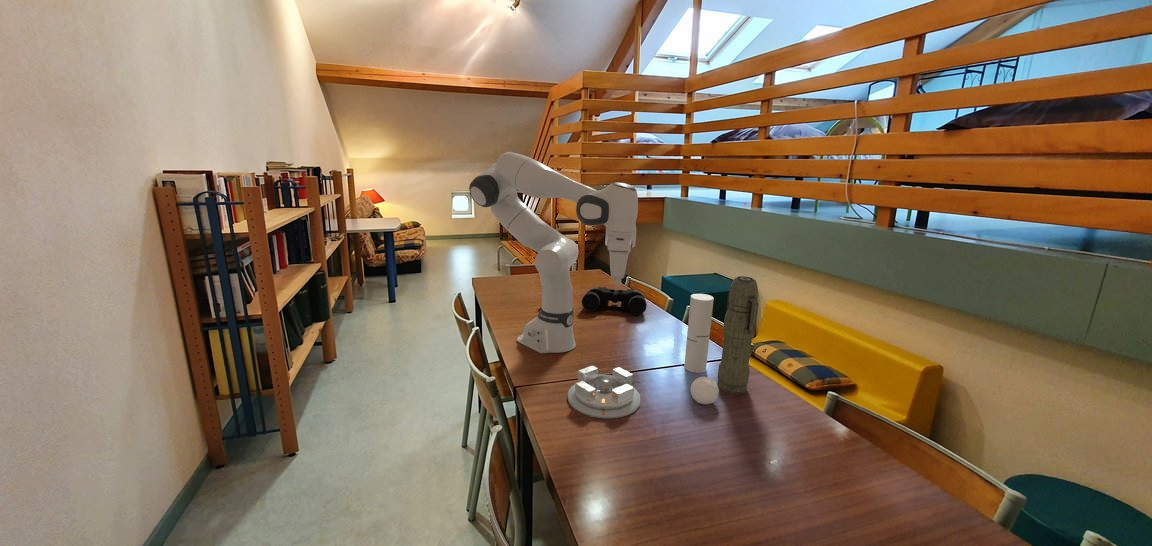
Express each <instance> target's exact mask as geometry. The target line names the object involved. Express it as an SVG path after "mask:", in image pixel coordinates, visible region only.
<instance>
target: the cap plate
mask: <svg viewBox="0 0 1152 546" xmlns="http://www.w3.org/2000/svg"><path fill="white" fill-rule="evenodd" d="M575 385H576V383H575V384H573V385H572V386H571V387H570V388H569V390H568V391H567V400H568V401H567V402H568V404H569V405H570V407H572V409H574V410H575V411H577V413H580V414H582V415H585V416H588V417H592V418H595V419H602V420H603V419H605V420H607V419H608V420H609V419H612V420H613V419H619V418H624V417H627V416H629V415H631V414H633V413H635V411H637V410H638V409H639V407H640V405H641V395H640V393H639V391H638V390H637V389H636V388H635V387H633V388H634V396H633V401H632V402H631V403H630V404H629V405H628V406H626V407H624V408H621V409H617V410H598V409H593V408H590V407H587V406H585V405H583V404H581V403H580V402H579V401H578V400H577V399H576V397H575Z"/></svg>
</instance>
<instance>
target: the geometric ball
mask: <svg viewBox="0 0 1152 546" xmlns="http://www.w3.org/2000/svg"><path fill="white" fill-rule="evenodd" d="M717 383H718V382H716V381H715V380H714V379H712V378H711V377H708V376H704V375H703V376H700V377H697V378H695V380H694V381H692V382H691V386H690V393H691V397H692V398H693V399H694V401H695V402H697V403H698V404H701V405H709V404H710V405H711V404H713V403H714V402H715V401H716V400H717V399H718V397H719V392H720V389H719V388H718V386H717Z"/></svg>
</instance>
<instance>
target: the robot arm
mask: <svg viewBox="0 0 1152 546" xmlns="http://www.w3.org/2000/svg"><path fill="white" fill-rule="evenodd" d="M468 188H469V189H468V190H469V195H470V197H471V199H472V200H473V201H474V202H475V204H477V205H478V206H480V207H482V208H489V207H490V211H491V212H492V214H493V216H494V217H495V219H496V220H497V221H498V222H499V223H500V225H502V227H503V228H504V229H506V231H508V232H509V234H511V235H512V236H513V237H514V238H515V239H516V240H517V241H518V242H519V243H520V244H521V245H522V246H523V247H527V248H529V249H531V250H533V251H535V252H536V253H537V255H536V256H535V259H534V266H535V269H536V270H537V272H538V274H539V278H540V285H541V306H540V307H539V308H537V309H536V310H535V313H538V315H537V316H536V317H535V318H533V319H531V320H530V321H529V322H528V323H526V324H525V325H524V327H523V331H522V332H523V333H522V334H520V335H519V336H517V338H516V342H518V344H522V345H523V346H525V347H527V348H529V349H531V350H533V351H535V352H537V353H539V354H548V353H549V354H550V353H555V354H556V353H558V354H559V353H566V352H569V351H571V350H573V349H575V348H576V346H577V343H576V341H575V334H574V326H573V323H574V308H573V297H574V295H573V294H574V293H573V292H574V291H573V290H574V288H573V286H572V284H571V277H570V268H571V267H572V266H573V265H574V264H576V262H577V259H578V256H579V247H578V244H577V243H576V242H575V241H574V240H573V239H570V238H568V237H566V236H565V235H563V234H562V233H561V232H559V231H558V230H557V229H555V228H554V227H552V226H551V225H549V224H547V222H545V221H544V220H543V219H541V218H540V217H539V216H538V215H537V214H536V213H535V212H534V211H533V210H532V209H531V208H530V207H529V206H527V204H526V203H524V202H523V201H522V200H521V199H520V198H519V196H518V192H520V193H522V194H524V195H527V196H529V197H532V198H537V199H550V198H551V199H552V198H554V199H555V198H556V199H565V200H568V201H571V202H573V203H576V207H575V213H576V217H577V219H578V220H579V221H580V222H581V224H583V225H585V226H590V227H595V226H601V225H603V226H605V242H604V243H605V246H607V251H609V268H610V277H611V278H612V279H614V287H621V286H622V279H624V278H625V274H626V269H627V264H628V263H627V262H628V258H629V255H630V253H631V251H632V249H633V248H634V247H636V242H637V225H636V221H637V218H638V214H639V213H638V211H639V210H638V209H639V208H638V207H639V199H638V198H639V197H638V191H637V189H636V188H635V187H634V186H633V185H630V184H629V183H628V184H627V183H625V182H616V181H615V182H612V183H610V184H609V185H608V186H607V187H604V188H602V189H600V190H599V189H596V188H594V187H591V186H588V185H586V184H584V183H581V182H578V181H577V180H574V179H572V178H569V177H567V176H565V175H564V174H562V173H560V172H559V171H556V170H555V169H553V168H551V167H549V166H547V165H545V164H544V163H542V162H540V161H538V160H535V159H534V158H532V157H530V156H527V155H523V154H522V153H519V152H518V153H517V152H512V151H507V152H504V153H502V154H501V155H500V156H498V158H497V160H496V162H495V163H494V164H492V165H491V166H488V168H487V169H485V170H484V171H482V173H480V174H479V175H478V176H476V177H474V179H473V180H472V181H471V182H470V184H469V186H468Z"/></svg>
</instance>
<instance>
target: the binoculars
mask: <svg viewBox="0 0 1152 546" xmlns="http://www.w3.org/2000/svg"><path fill="white" fill-rule="evenodd" d="M609 302H612V303H614V304H616V303H619V302H620V303H621V304H620V307H621V308H622V310H623V311H624V312H626V313H630V314H634V315H637V316H638V315H642V314H643V313H645V312H646V310H647V305H648V303H647V301H646V298H645V295H644V294H643V292H642V291H641V290H639V289H631V288H627V289H626V290H625V289H624V290H623V289H618V290H617V289H614V288H612V289H611V288H610V289H609V288H608V287H606V286H603V287H600V286H595V287H592V288H591V289H589V290H588V291H586V293H585V294H584V295H583V297H582V299H581V305H582V308H584V310H586V311H587V312H589V311H590V312H592V311H602V310H605V309H607V307H608V306H609Z"/></svg>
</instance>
